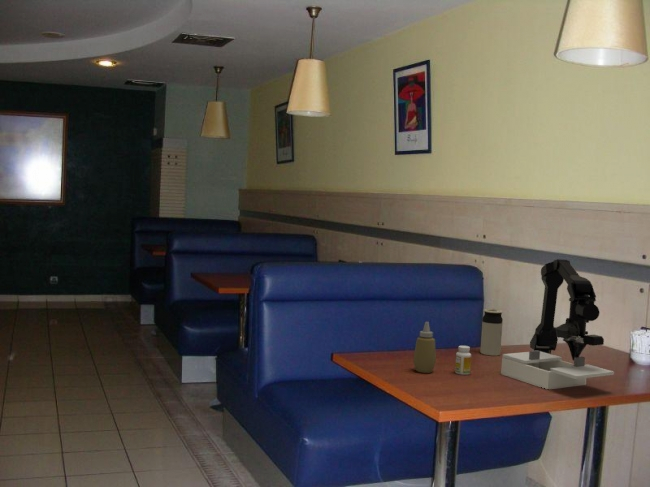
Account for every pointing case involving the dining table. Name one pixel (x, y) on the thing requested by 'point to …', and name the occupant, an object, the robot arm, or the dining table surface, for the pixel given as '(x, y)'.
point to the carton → (540, 373)
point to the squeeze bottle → (425, 351)
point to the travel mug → (491, 332)
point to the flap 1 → (532, 357)
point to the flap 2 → (581, 370)
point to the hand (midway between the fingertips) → (574, 360)
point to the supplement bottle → (463, 360)
